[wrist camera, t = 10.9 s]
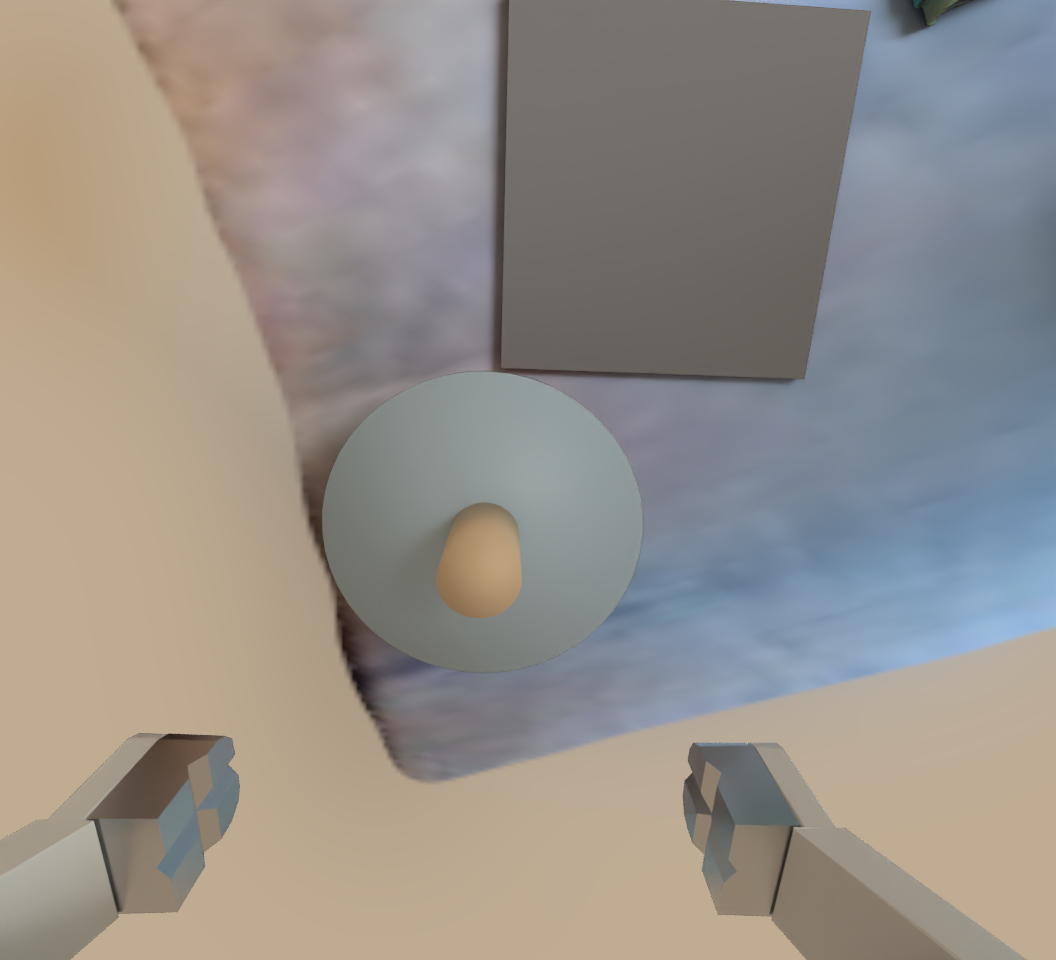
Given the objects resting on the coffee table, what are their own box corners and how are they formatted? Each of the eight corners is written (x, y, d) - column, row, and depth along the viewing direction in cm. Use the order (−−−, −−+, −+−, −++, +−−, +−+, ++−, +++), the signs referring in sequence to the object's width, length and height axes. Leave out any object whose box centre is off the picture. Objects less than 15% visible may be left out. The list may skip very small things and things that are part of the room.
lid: (652, 377, 19) (699, 387, 15) (622, 660, 23) (653, 744, 18) (320, 363, 19) (255, 369, 14) (339, 657, 22) (293, 743, 17)
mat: (860, 20, 21) (870, 11, 20) (797, 378, 25) (804, 378, 24) (509, -6, 20) (509, -16, 20) (500, 367, 24) (500, 367, 23)
